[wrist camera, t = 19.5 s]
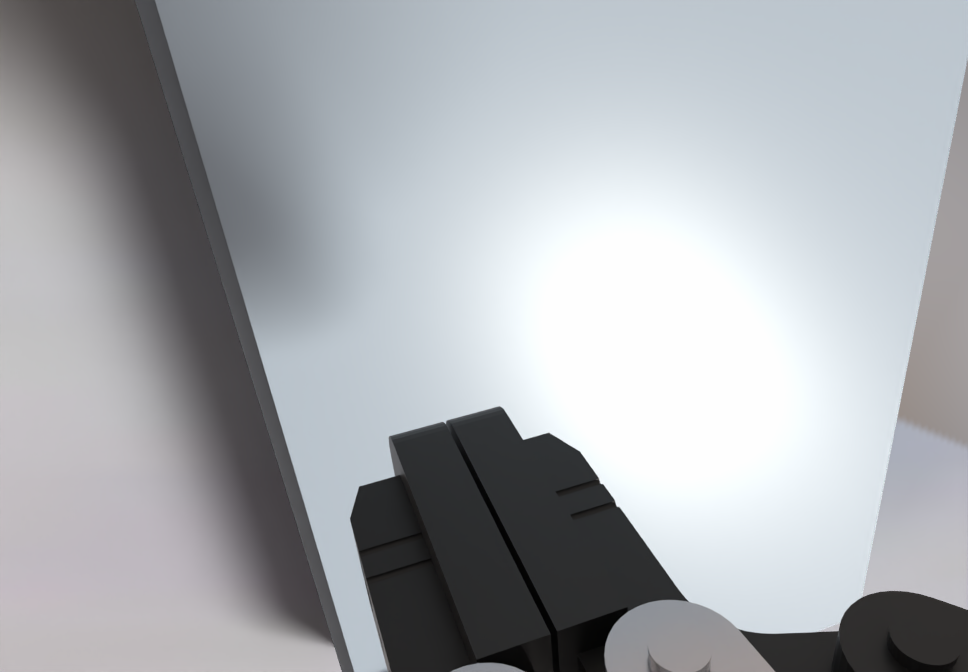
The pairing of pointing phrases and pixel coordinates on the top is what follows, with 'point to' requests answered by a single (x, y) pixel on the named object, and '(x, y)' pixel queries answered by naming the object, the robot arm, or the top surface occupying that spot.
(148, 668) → the top surface
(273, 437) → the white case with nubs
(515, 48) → the cover
